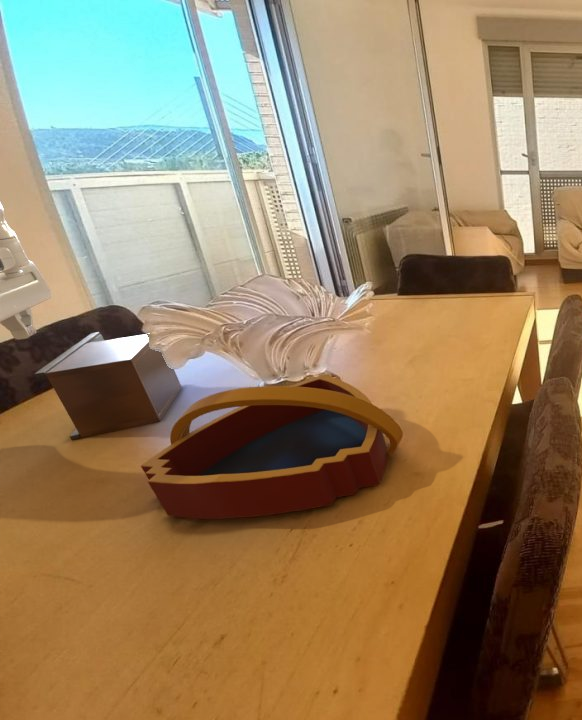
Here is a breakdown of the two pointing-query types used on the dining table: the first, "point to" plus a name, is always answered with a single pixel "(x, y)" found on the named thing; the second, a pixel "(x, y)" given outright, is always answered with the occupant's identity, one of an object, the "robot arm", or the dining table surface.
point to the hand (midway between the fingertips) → (26, 336)
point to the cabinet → (112, 384)
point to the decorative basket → (273, 451)
